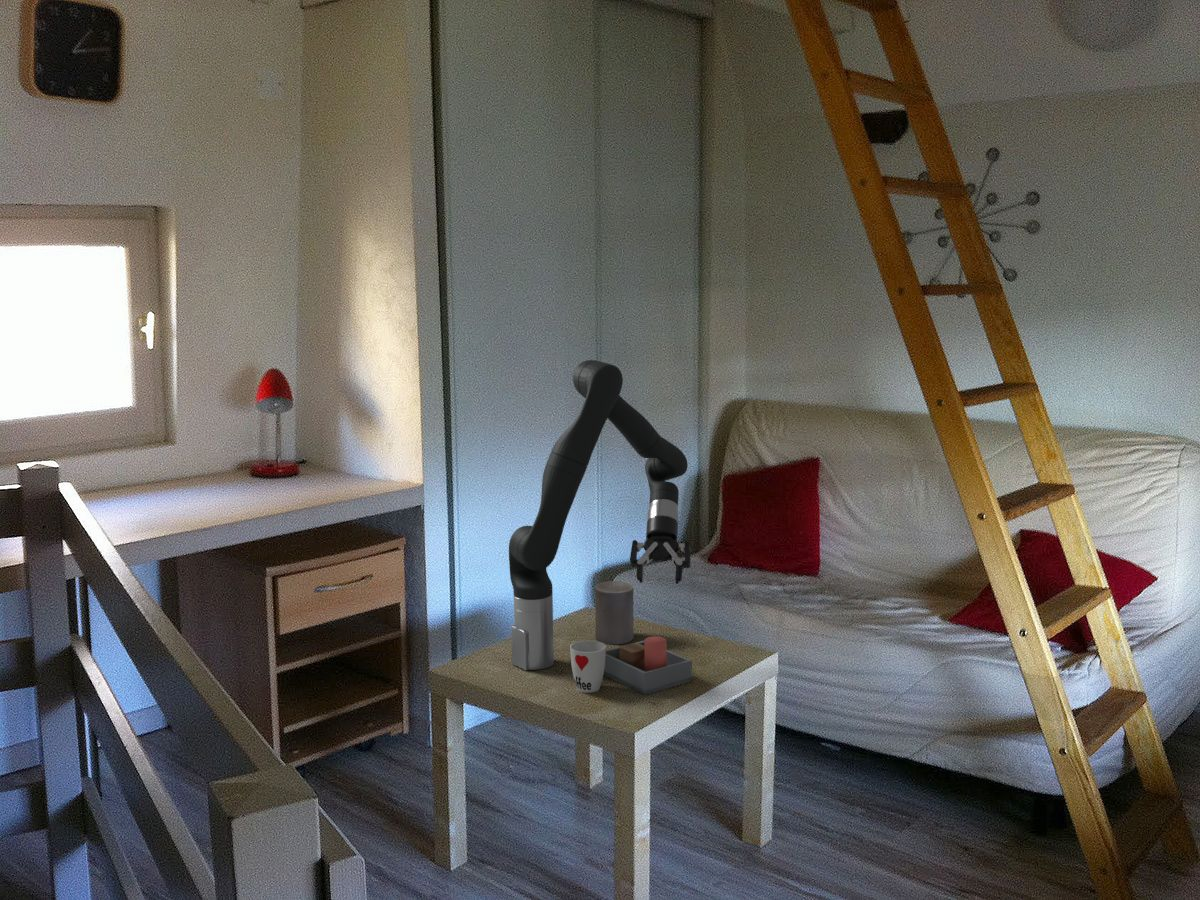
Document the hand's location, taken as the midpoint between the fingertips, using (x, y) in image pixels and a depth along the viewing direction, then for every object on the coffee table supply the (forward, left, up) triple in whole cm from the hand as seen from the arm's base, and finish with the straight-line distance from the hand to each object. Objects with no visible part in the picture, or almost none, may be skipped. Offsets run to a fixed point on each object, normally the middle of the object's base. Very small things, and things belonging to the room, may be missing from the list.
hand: (658, 581), depth 289 cm
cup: (-22, -2, -21) cm, 30 cm away
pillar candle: (+3, +22, -21) cm, 31 cm away
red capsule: (-7, -8, -20) cm, 22 cm away
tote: (-7, -4, -21) cm, 22 cm away
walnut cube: (-7, 0, -20) cm, 21 cm away
